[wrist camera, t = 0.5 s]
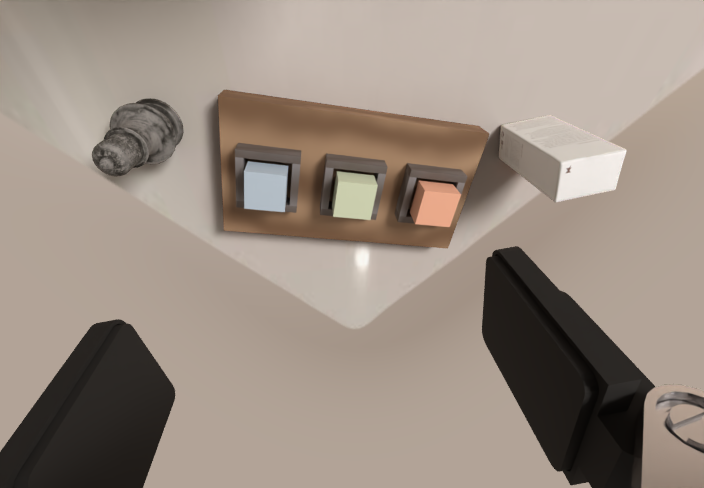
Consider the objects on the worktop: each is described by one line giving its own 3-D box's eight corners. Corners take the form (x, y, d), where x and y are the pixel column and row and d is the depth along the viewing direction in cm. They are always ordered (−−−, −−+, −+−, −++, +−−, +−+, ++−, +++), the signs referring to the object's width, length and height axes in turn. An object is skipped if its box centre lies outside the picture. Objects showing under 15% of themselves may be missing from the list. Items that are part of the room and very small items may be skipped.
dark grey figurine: (169, 89, 36) (115, 121, 26) (195, 145, 39) (156, 192, 29) (113, 102, 36) (38, 139, 26) (144, 157, 39) (88, 208, 29)
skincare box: (497, 159, 43) (552, 204, 33) (499, 124, 41) (560, 161, 31) (546, 149, 43) (617, 191, 33) (551, 113, 41) (629, 147, 31)
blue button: (247, 161, 36) (244, 171, 34) (288, 165, 36) (286, 175, 34) (248, 197, 38) (244, 208, 36) (286, 200, 39) (284, 212, 36)
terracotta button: (418, 180, 39) (424, 190, 37) (452, 184, 39) (461, 194, 37) (409, 212, 41) (415, 224, 39) (442, 215, 42) (449, 227, 39)
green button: (336, 171, 37) (338, 181, 35) (373, 175, 38) (377, 185, 36) (332, 205, 39) (333, 216, 37) (367, 208, 40) (370, 220, 38)
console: (224, 89, 36) (213, 100, 32) (478, 126, 41) (497, 139, 37) (228, 217, 44) (220, 239, 40) (440, 236, 49) (452, 257, 45)
